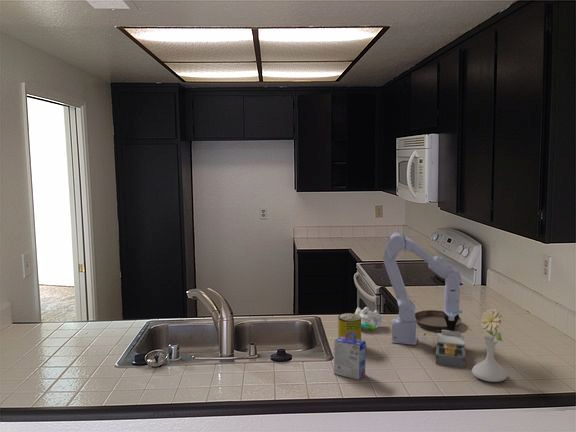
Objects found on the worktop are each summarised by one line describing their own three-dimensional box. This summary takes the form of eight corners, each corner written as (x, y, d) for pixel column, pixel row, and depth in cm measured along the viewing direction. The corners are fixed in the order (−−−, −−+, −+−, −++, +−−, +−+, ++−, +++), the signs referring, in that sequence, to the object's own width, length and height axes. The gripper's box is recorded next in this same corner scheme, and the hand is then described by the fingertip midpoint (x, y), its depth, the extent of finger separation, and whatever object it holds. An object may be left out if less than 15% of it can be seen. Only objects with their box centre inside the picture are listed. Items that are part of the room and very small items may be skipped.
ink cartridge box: (366, 374, 178) (366, 334, 176) (359, 380, 173) (360, 339, 172) (340, 368, 183) (340, 329, 181) (333, 374, 179) (333, 334, 177)
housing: (435, 364, 186) (435, 354, 185) (437, 345, 203) (437, 337, 202) (464, 367, 183) (465, 358, 182) (463, 348, 200) (464, 339, 199)
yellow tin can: (365, 345, 204) (365, 316, 202) (352, 352, 197) (352, 322, 196) (347, 340, 210) (347, 311, 208) (333, 346, 203) (333, 317, 202)
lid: (436, 343, 196) (436, 337, 195) (437, 334, 205) (437, 329, 204) (464, 345, 193) (464, 340, 192) (464, 337, 202) (464, 331, 201)
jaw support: (346, 323, 221) (352, 303, 226) (351, 332, 227) (356, 313, 232) (374, 327, 216) (379, 307, 221) (377, 337, 222) (382, 317, 227)
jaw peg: (443, 362, 187) (443, 347, 186) (443, 358, 191) (443, 342, 190) (456, 364, 186) (456, 348, 185) (455, 359, 190) (456, 343, 189)
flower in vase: (467, 370, 180) (469, 301, 177) (499, 370, 180) (503, 301, 177) (479, 387, 167) (482, 313, 164) (515, 387, 167) (518, 313, 164)
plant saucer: (460, 335, 215) (460, 327, 214) (410, 329, 222) (410, 322, 221) (461, 319, 234) (462, 312, 233) (415, 315, 241) (415, 308, 240)
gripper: (463, 305, 194) (461, 340, 196) (462, 295, 208) (461, 327, 209) (443, 304, 196) (442, 338, 198) (444, 293, 210) (443, 325, 212)
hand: (450, 332), depth 204 cm, fingers closed
